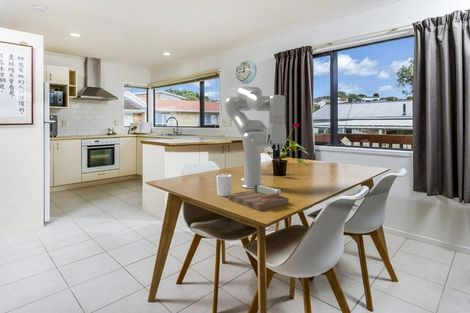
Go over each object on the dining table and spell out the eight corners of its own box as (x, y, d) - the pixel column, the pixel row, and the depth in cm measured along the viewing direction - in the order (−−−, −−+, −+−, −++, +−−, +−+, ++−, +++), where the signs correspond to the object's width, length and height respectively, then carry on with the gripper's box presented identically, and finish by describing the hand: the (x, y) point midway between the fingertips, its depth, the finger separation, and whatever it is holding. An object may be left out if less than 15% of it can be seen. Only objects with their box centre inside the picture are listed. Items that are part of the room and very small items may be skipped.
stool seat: (228, 199, 136) (228, 188, 136) (256, 194, 147) (256, 183, 146) (258, 210, 119) (258, 197, 118) (288, 203, 129) (288, 191, 129)
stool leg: (281, 196, 130) (281, 189, 130) (277, 197, 129) (277, 190, 128) (258, 190, 143) (258, 184, 143) (254, 191, 141) (254, 184, 141)
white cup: (225, 192, 151) (225, 173, 150) (235, 195, 145) (234, 175, 144) (213, 194, 146) (213, 175, 145) (222, 197, 140) (222, 177, 139)
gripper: (282, 121, 147) (281, 156, 149) (260, 120, 138) (260, 158, 140) (293, 120, 141) (292, 157, 143) (271, 120, 132) (270, 159, 134)
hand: (276, 157), depth 142 cm, fingers closed
